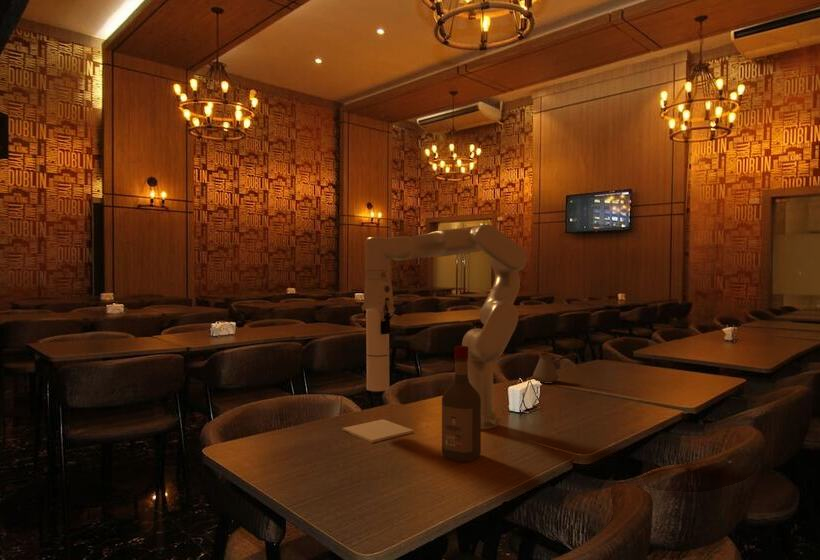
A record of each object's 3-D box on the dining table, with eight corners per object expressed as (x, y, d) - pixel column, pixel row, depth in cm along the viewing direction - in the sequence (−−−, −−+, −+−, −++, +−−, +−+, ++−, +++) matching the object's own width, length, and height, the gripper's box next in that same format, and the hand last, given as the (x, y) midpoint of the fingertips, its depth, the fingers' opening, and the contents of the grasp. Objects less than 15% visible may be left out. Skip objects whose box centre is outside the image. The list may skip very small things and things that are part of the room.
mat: (413, 432, 168) (413, 430, 168) (371, 442, 158) (371, 440, 158) (382, 421, 180) (382, 419, 180) (342, 430, 170) (342, 428, 170)
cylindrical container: (392, 387, 171) (392, 308, 171) (384, 391, 164) (383, 310, 164) (372, 385, 174) (371, 308, 173) (363, 390, 167) (362, 310, 166)
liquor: (469, 464, 140) (469, 350, 140) (438, 458, 145) (438, 347, 144) (483, 454, 148) (483, 346, 147) (454, 449, 153) (454, 343, 152)
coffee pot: (527, 381, 246) (528, 349, 245) (541, 378, 254) (541, 346, 254) (570, 389, 231) (571, 354, 231) (583, 385, 239) (583, 351, 239)
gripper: (404, 276, 164) (404, 334, 164) (371, 276, 178) (371, 329, 178) (384, 276, 159) (384, 336, 160) (352, 276, 173) (352, 331, 173)
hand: (377, 332), depth 169 cm, fingers closed on cylindrical container, 7 cm apart
